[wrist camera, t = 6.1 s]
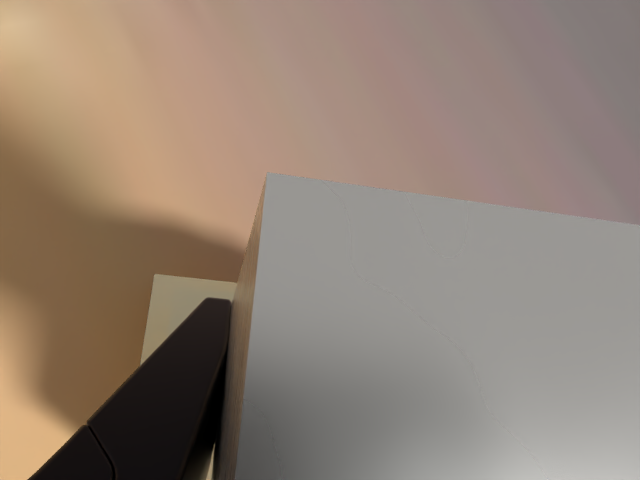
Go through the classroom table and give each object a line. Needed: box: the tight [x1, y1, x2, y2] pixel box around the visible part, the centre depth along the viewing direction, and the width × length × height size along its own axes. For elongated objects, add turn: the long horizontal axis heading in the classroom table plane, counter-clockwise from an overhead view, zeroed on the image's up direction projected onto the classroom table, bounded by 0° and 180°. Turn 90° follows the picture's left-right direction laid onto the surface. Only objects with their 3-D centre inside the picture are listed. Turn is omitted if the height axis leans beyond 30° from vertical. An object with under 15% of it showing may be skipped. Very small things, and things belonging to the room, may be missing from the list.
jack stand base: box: [140, 274, 237, 365], centre depth 16 cm, size 8×8×4 cm
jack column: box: [206, 172, 640, 480], centre depth 9 cm, size 3×3×12 cm
